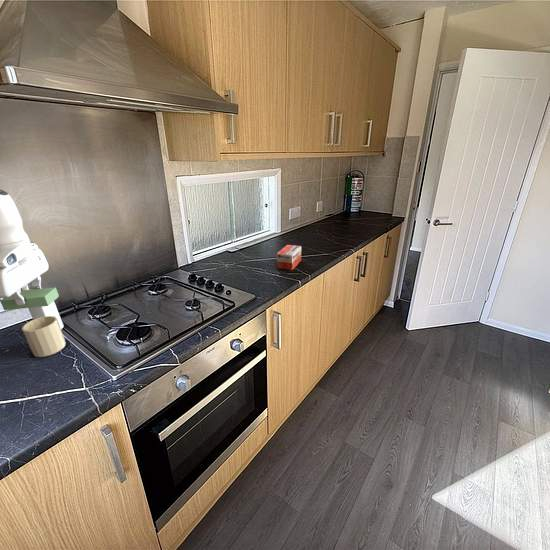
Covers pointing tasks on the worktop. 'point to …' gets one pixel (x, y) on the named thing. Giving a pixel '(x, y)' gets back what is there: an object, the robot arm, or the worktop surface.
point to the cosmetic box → (46, 312)
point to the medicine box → (289, 257)
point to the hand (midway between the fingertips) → (30, 297)
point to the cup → (44, 336)
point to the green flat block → (32, 299)
